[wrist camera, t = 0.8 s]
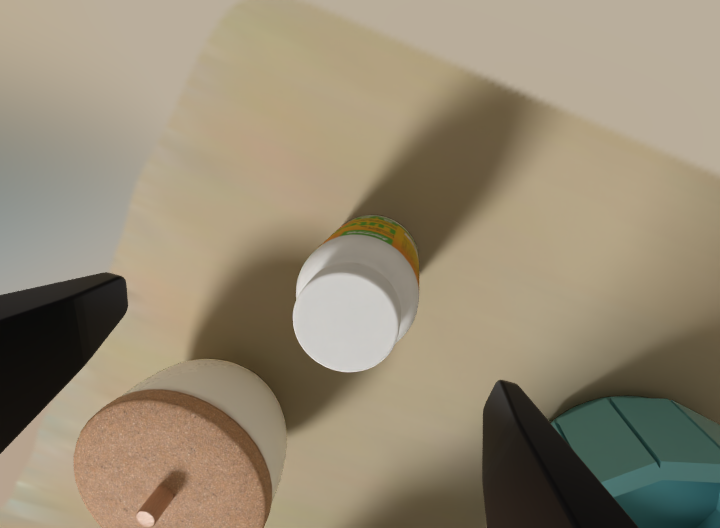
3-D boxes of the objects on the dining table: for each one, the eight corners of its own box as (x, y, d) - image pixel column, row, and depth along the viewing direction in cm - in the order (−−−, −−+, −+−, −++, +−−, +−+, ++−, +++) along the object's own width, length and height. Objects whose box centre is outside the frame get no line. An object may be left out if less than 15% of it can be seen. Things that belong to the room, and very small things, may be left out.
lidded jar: (137, 354, 28) (3, 447, 19) (272, 314, 26) (193, 398, 17) (200, 478, 30) (106, 614, 21) (329, 451, 28) (287, 592, 19)
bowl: (642, 575, 27) (703, 690, 21) (484, 493, 27) (502, 584, 21) (775, 449, 23) (893, 545, 17) (592, 354, 23) (650, 418, 17)
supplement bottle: (407, 203, 22) (400, 236, 13) (427, 291, 24) (434, 378, 14) (318, 225, 24) (254, 269, 14) (342, 308, 25) (296, 399, 15)
